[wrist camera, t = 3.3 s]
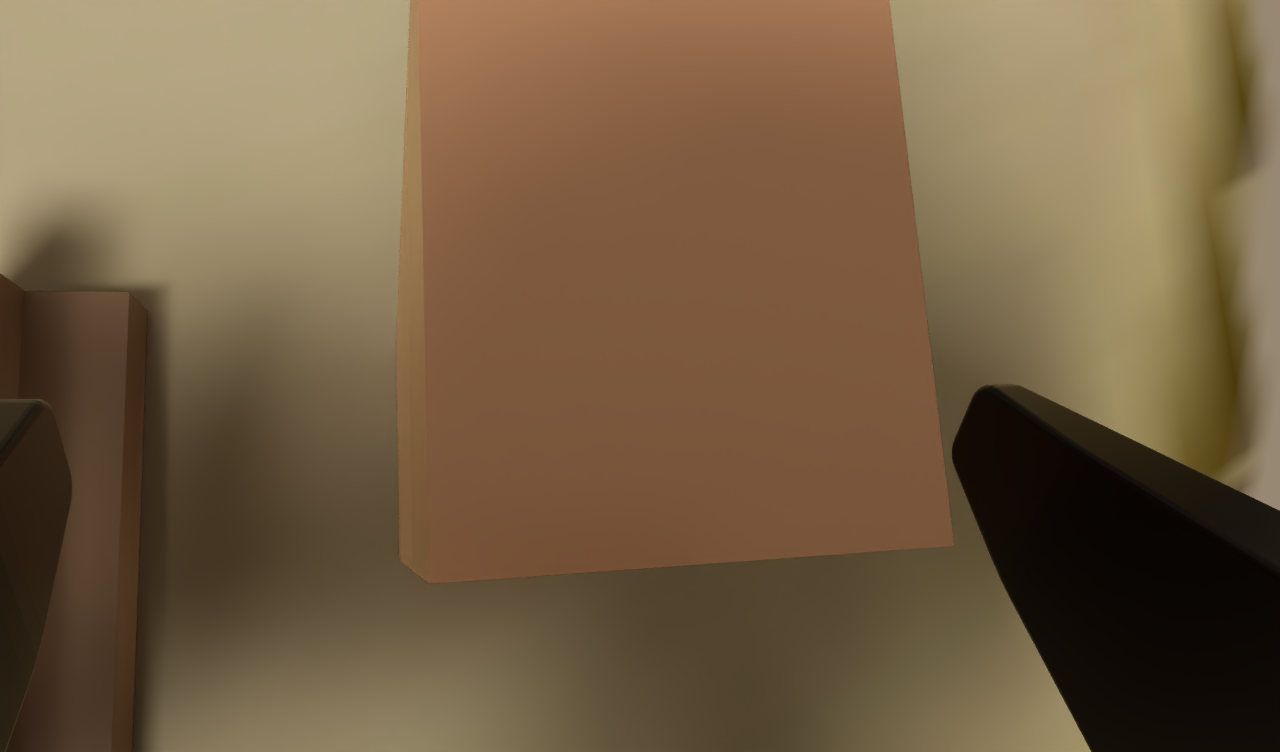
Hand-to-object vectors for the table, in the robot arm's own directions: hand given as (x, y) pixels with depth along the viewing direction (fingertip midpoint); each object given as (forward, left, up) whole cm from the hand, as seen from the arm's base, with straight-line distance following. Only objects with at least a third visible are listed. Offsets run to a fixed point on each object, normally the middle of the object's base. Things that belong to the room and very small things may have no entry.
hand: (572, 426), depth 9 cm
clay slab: (+1, 0, -8) cm, 9 cm away
